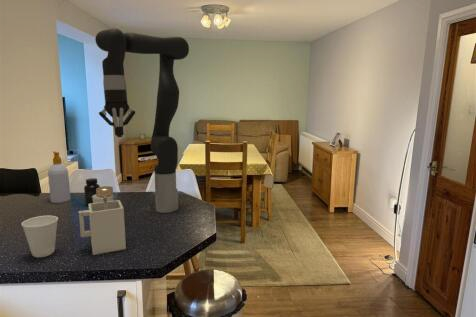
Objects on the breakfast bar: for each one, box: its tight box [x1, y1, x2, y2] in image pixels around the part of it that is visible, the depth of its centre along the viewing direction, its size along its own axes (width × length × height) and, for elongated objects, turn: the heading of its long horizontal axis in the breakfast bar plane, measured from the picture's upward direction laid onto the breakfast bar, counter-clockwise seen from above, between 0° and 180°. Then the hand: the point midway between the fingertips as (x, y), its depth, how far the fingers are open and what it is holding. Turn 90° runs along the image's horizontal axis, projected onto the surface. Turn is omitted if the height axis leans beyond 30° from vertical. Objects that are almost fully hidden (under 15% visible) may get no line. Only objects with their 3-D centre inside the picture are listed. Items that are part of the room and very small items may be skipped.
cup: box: [21, 214, 59, 258], centre depth 103 cm, size 10×10×11 cm
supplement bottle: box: [83, 177, 101, 207], centre depth 152 cm, size 7×7×12 cm
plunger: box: [96, 185, 114, 210], centre depth 108 cm, size 8×8×19 cm
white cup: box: [92, 194, 114, 203], centre depth 134 cm, size 8×8×10 cm
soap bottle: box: [47, 150, 71, 204], centre depth 157 cm, size 9×9×24 cm
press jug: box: [78, 199, 127, 256], centre depth 108 cm, size 13×10×14 cm
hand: (119, 136), depth 119 cm, fingers closed
